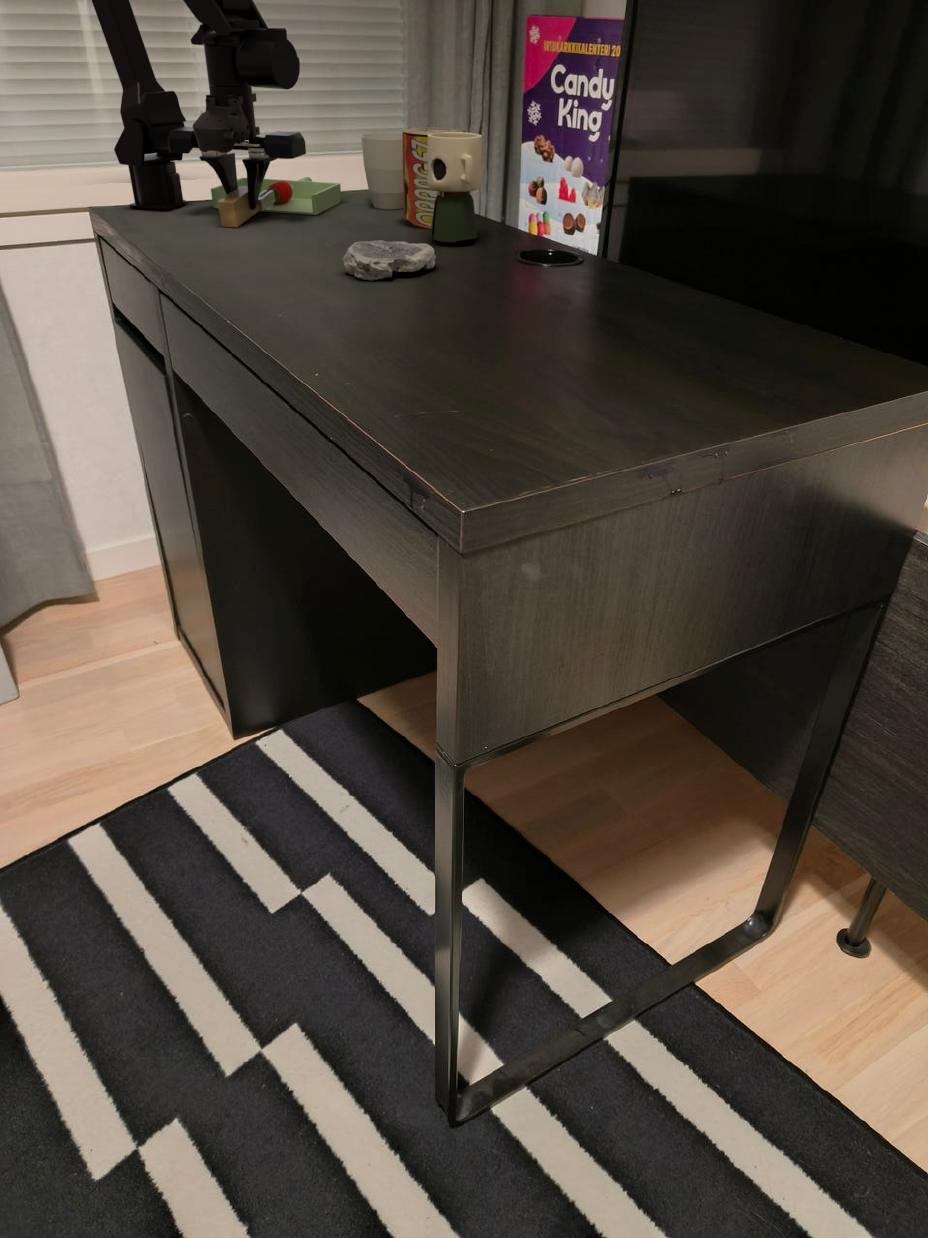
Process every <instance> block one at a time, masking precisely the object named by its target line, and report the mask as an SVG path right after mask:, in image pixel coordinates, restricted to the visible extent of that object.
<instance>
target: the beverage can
mask: <svg viewBox="0 0 928 1238" xmlns="http://www.w3.org/2000/svg"><path fill="white" fill-rule="evenodd" d="M439 132H466V131H465V130H462V129H457V128H449V127H411V128H404V129H402V130H401V133H402V147H403V203H404V208H403V224H405V225H407V226H408V227H414V228H420V229H430V230H431V229H432V219H433V211H434V204H435V199H436V197H437V195H438V194H437V191H436V190H433V189H431V188H429V186H428V181H427V177H428V155H427V148H428V134H431V133H439Z"/></svg>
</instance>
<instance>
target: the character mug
mask: <svg viewBox="0 0 928 1238" xmlns="http://www.w3.org/2000/svg"><path fill="white" fill-rule="evenodd" d="M427 155H428V177H427V181H428V186H429V188H431V189H433V190H436V191H437V194H438V195H437V197H436V199H435V204H434V211H433V219H432V229H430V230H431V231H430V238H431V239H432V238H433V240H434V241H437V242H441V243H455V245H460V243H461V241H466V240H473V239H476V238H477V223H476V222H477V221H476V211H475V200H474V198H473V196H472V194H471V192H473V191H477V190H479V189H480V188H481V187H482V186H481V185H482V163H483V162H482V161H483V160H482V159H483V135H481V134H479V133H474V132H468V131H467V132H466V131H465V132H439V133H431V134H428V148H427Z"/></svg>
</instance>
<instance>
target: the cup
mask: <svg viewBox="0 0 928 1238" xmlns="http://www.w3.org/2000/svg"><path fill="white" fill-rule="evenodd" d="M360 137H361V149H362V159H363V167H364V173H365V178H366V183H367V188H368V192H369V196H370V198H371V201H372V204H373V208H375V209H379V210H400V209H404V203H403V147H402V132H401V133H400V132H370V133H365V134H364V133H363V134H361V135H360Z"/></svg>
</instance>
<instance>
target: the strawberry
mask: <svg viewBox="0 0 928 1238" xmlns="http://www.w3.org/2000/svg"><path fill="white" fill-rule="evenodd" d="M270 190H274V195H275V202H274V204H282V203H284V202H286V201H288V200H289V199H290V198H292V193H293V191H292V187H291V186H290V184H289V183H287V182H285V181H279V182H276V183H274V184H272V185H270V186H269V188H268V192H269V191H270Z"/></svg>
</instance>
